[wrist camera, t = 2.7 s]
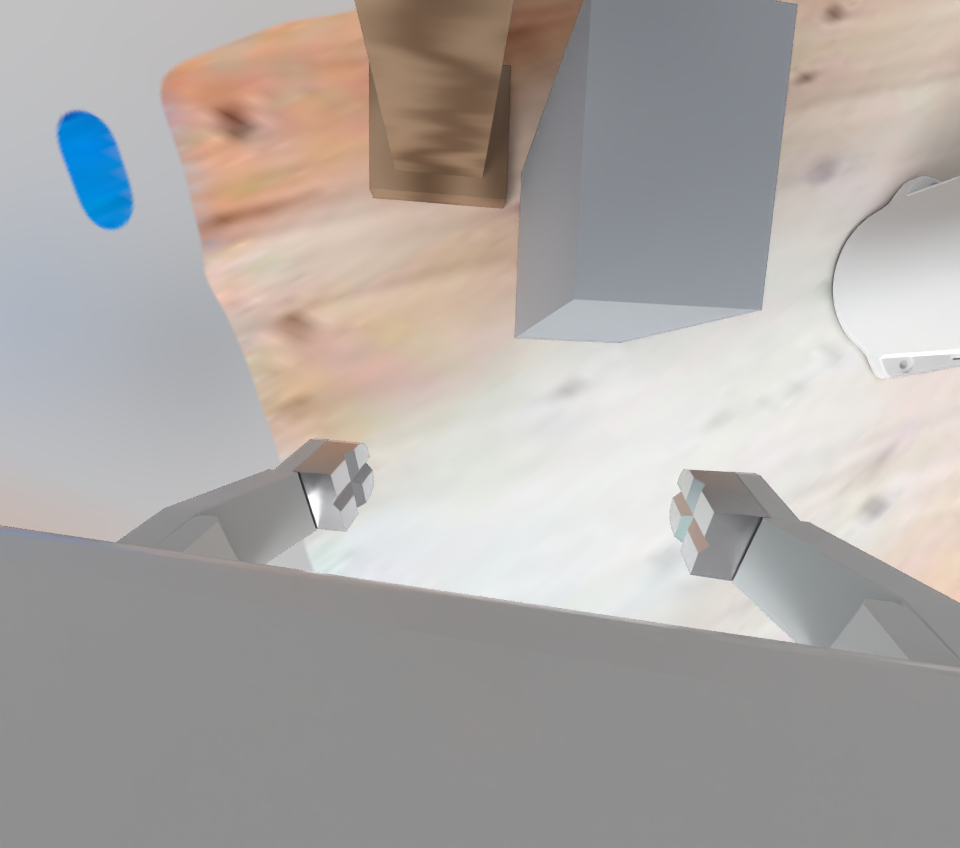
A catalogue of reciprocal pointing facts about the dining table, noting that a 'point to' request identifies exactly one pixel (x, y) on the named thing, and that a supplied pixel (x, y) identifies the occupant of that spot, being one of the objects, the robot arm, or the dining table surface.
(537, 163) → the display block
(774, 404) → the dining table surface
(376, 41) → the shelf stand
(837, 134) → the dining table surface
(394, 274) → the dining table surface
